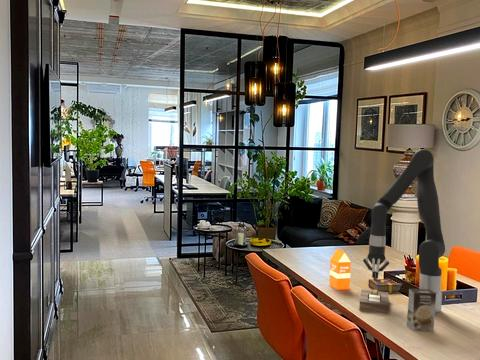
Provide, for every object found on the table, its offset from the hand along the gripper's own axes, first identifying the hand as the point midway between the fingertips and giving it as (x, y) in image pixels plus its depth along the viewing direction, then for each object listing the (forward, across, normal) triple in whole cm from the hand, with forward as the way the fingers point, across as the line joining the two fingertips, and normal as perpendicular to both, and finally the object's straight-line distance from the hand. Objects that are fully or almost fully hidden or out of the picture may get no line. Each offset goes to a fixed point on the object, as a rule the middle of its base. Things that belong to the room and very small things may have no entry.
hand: (374, 278), depth 232 cm
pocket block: (+11, 0, +7) cm, 13 cm away
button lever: (+10, 0, +5) cm, 11 cm away
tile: (+9, 0, +8) cm, 12 cm away
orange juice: (+12, +18, -17) cm, 28 cm away
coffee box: (+10, -20, +30) cm, 38 cm away
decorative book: (+12, -6, -22) cm, 26 cm away
